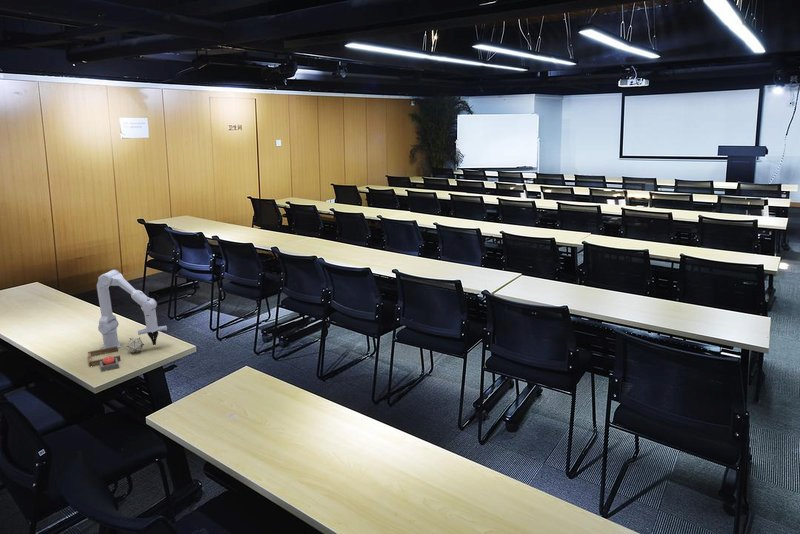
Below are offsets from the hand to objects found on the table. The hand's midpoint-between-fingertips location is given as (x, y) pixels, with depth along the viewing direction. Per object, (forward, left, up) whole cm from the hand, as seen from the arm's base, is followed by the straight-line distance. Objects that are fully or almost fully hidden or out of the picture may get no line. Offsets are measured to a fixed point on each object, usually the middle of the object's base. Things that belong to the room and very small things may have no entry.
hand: (154, 344), depth 302 cm
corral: (0, -24, -2) cm, 24 cm away
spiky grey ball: (0, -9, -3) cm, 10 cm away
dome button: (+13, -23, -1) cm, 27 cm away
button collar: (+13, -23, -2) cm, 27 cm away
